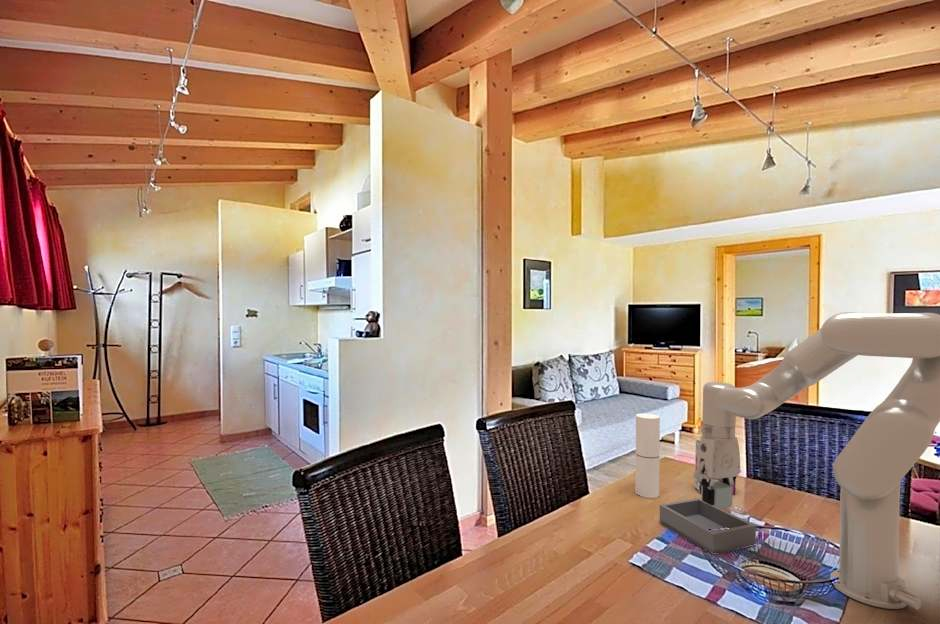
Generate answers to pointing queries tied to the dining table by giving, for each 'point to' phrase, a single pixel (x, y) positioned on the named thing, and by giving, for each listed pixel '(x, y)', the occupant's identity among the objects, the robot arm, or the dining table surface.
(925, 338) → the robot arm
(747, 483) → the dining table surface
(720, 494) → the cube
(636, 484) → the cylindrical container
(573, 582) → the dining table surface
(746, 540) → the tray
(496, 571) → the dining table surface
